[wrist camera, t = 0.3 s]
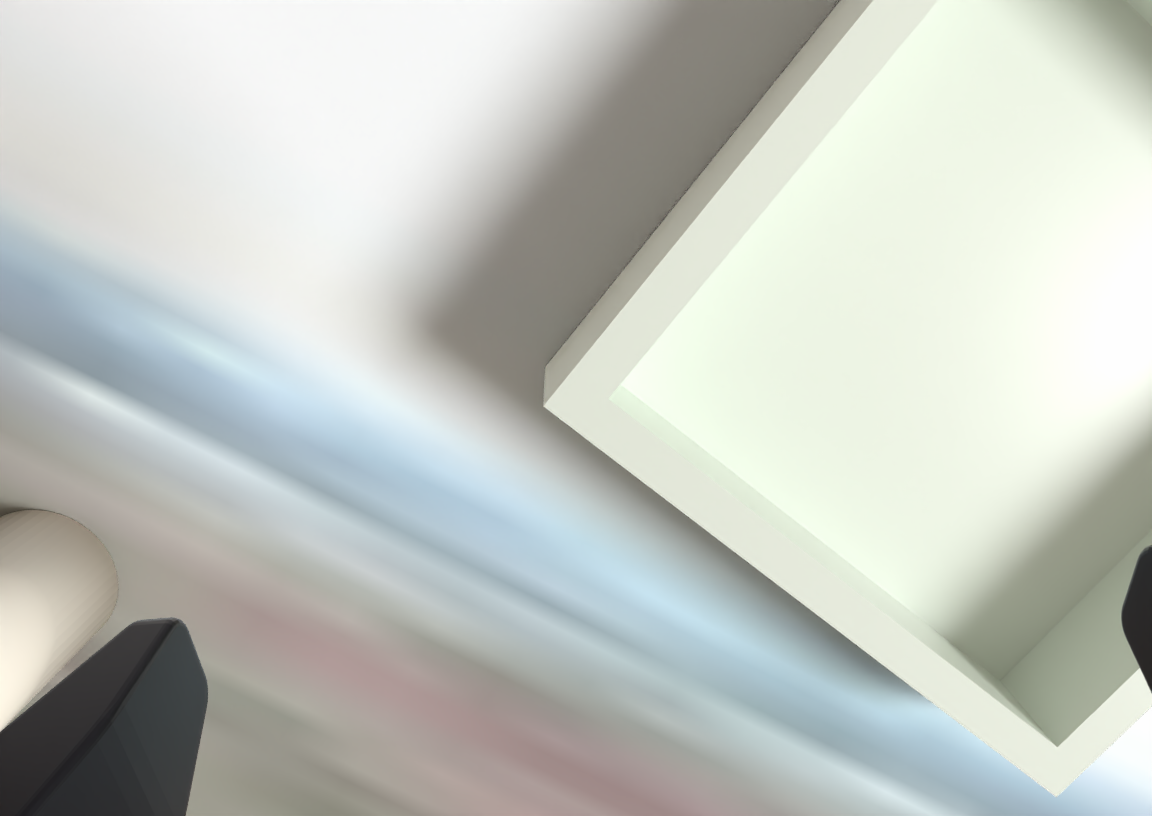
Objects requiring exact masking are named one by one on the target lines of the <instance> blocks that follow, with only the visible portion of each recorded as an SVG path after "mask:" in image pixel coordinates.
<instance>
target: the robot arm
mask: <svg viewBox="0 0 1152 816" xmlns="http://www.w3.org/2000/svg"><path fill="white" fill-rule="evenodd" d="M1121 621H1122V627H1123V631H1124V634H1125V637H1126V639H1127V641H1128V644H1129V646H1130V648H1131V650H1132V652H1133V654H1134V657H1135V659H1136V661H1137V663H1138V665H1139V667H1140V669H1141V672H1142V674H1143V676H1144V678H1145V680H1146V682H1147V685H1148V687H1149V689H1150V691H1151V693H1152V545H1149V546H1147V547H1145V548H1144V549H1143V550H1142V551H1141V553H1140V554H1139V556H1138V559H1137V562H1136V565H1135V568H1134V571H1133V575H1132V578H1131V581H1130V584H1129V587H1128V590H1127V593H1126V596H1125V599H1124V603H1123V606H1122V611H1121ZM207 702H208V686H207V680H206V676H205V674H204V671H203V668H202V666H201V663H200V660H199V658H198V655H197V652H196V650H195V647H194V644H193V642H192V639H191V636H190V634H189V631H188V629H187V627H186V625H185V624H184V623H183V621H181V620H180V619H177V618H160V619H147V620H140V621H136V622H134V623H132V624H130V625H129V626H128V627H126V628H125V629H124V630H123V631H121V632H120V633H119V634H118V635H117V636H115V637H114V638H113V639H112V640H110V641H109V642H108V643H107V644H106V645H104V646H103V647H102V648H101V649H100V650H98V651H97V652H96V653H95V654H94V655H92V656H91V657H90V658H89V659H88V660H86V661H85V662H84V663H83V664H82V665H80V666H79V667H78V668H77V669H76V670H74V671H73V672H72V673H71V674H69V675H68V676H67V677H66V678H65V679H63V680H62V681H61V682H60V683H59V684H57V685H56V686H55V687H54V688H53V689H51V690H50V691H49V692H48V693H47V694H45V695H44V696H43V697H42V698H41V699H39V700H38V701H37V702H36V703H34V704H33V705H32V706H31V707H30V708H28V709H27V710H26V711H25V712H24V713H22V714H21V715H20V716H19V717H18V718H16V719H15V720H14V721H13V722H12V723H10V724H9V725H8V726H7V727H6V728H4V729H3V730H2V731H1V732H0V816H186V811H187V806H188V801H189V796H190V791H191V785H192V780H193V775H194V770H195V765H196V760H197V755H198V749H199V744H200V739H201V734H202V729H203V724H204V719H205V713H206V708H207Z"/></svg>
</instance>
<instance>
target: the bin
mask: <svg viewBox="0 0 1152 816" xmlns="http://www.w3.org/2000/svg"><path fill="white" fill-rule="evenodd" d="M543 407H545V408H546V409H547V410H549V411H550V412H551V413H553V414H554V415H555V416H557V417H558V418H559V419H560V420H562V421H563V422H564V423H566V424H567V425H568V426H570V427H571V428H572V429H574V430H575V431H576V432H578V433H579V434H580V435H581V436H583V437H584V438H585V439H587V440H588V441H589V442H591V443H592V444H593V445H595V446H596V447H597V448H599V449H600V450H601V451H602V452H604V453H605V454H606V455H608V456H609V457H610V458H612V459H613V460H614V461H616V462H617V463H618V464H620V465H621V466H622V467H623V468H625V469H626V470H627V471H629V472H630V473H631V474H633V475H634V476H635V477H637V478H638V479H639V480H641V481H642V482H643V483H644V484H646V485H647V486H648V487H650V488H651V489H652V490H654V491H655V492H656V493H658V494H659V495H660V496H662V497H663V498H664V499H665V500H667V501H668V502H669V503H671V504H672V505H673V506H675V507H676V508H677V509H679V510H680V511H681V512H683V513H684V514H685V515H686V516H688V517H689V518H690V519H692V520H693V521H694V522H696V523H697V524H698V525H700V526H701V527H702V528H704V529H705V530H706V531H707V532H709V533H710V534H711V535H713V536H714V537H715V538H717V539H718V540H719V541H721V542H722V543H723V544H725V545H726V546H727V547H728V548H730V549H731V550H732V551H734V552H735V553H736V554H738V555H739V556H740V557H742V558H743V559H744V560H746V561H747V562H748V563H749V564H751V565H752V566H753V567H755V568H756V569H757V570H759V571H760V572H761V573H763V574H764V575H765V576H767V577H768V578H769V579H770V580H772V581H773V582H774V583H776V584H777V585H778V586H780V587H781V588H782V589H784V590H785V591H786V592H788V593H789V594H790V595H791V596H793V597H794V598H795V599H797V600H798V601H799V602H801V603H802V604H803V605H805V606H806V607H807V608H809V609H810V610H811V611H812V612H814V613H815V614H816V615H818V616H819V617H820V618H822V619H823V620H824V621H826V622H827V623H828V624H830V625H831V626H832V627H833V628H835V629H836V630H837V631H839V632H840V633H841V634H843V635H844V636H845V637H847V638H848V639H849V640H851V641H852V642H853V643H854V644H856V645H857V646H858V647H860V648H861V649H862V650H864V651H865V652H866V653H868V654H869V655H870V656H872V657H873V658H874V659H875V660H877V661H878V662H879V663H881V664H882V665H883V666H885V667H886V668H887V669H889V670H890V671H891V672H893V673H894V674H895V675H896V676H898V677H899V678H900V679H902V680H903V681H904V682H906V683H907V684H908V685H910V686H911V687H912V688H914V689H915V690H916V691H917V692H919V693H920V694H921V695H923V696H924V697H925V698H927V699H928V700H929V701H931V702H932V703H933V704H935V705H936V706H937V707H938V708H940V709H941V710H942V711H944V712H945V713H946V714H948V715H949V716H950V717H952V718H953V719H954V720H956V721H957V722H958V723H959V724H961V725H962V726H963V727H965V728H966V729H967V730H969V731H970V732H971V733H973V734H974V735H975V736H977V737H978V738H979V739H980V740H982V741H983V742H984V743H986V744H987V745H988V746H990V747H991V748H992V749H994V750H995V751H996V752H998V753H999V754H1000V755H1001V756H1003V757H1004V758H1005V759H1007V760H1008V761H1009V762H1011V763H1012V764H1013V765H1015V766H1016V767H1017V768H1019V769H1020V770H1021V771H1022V772H1024V773H1025V774H1026V775H1028V776H1029V777H1030V778H1032V779H1033V780H1034V781H1036V782H1037V783H1038V784H1040V785H1041V786H1042V787H1043V788H1045V789H1046V790H1047V791H1049V792H1050V793H1051V794H1053V795H1054V796H1055V797H1057V796H1058V795H1059V794H1060V793H1061V792H1063V791H1064V790H1065V789H1066V788H1067V787H1068V786H1069V785H1070V784H1071V783H1072V782H1073V781H1074V780H1075V779H1076V778H1077V777H1078V776H1079V775H1080V774H1081V773H1082V772H1084V771H1085V770H1086V769H1087V768H1088V767H1089V766H1090V765H1091V764H1092V763H1093V762H1094V761H1095V760H1096V759H1097V758H1098V757H1099V756H1100V755H1101V754H1102V753H1104V752H1105V751H1106V750H1107V749H1108V748H1109V747H1110V746H1111V745H1112V744H1113V743H1114V742H1115V741H1116V740H1117V739H1118V738H1119V737H1120V736H1121V735H1122V734H1124V733H1125V732H1126V731H1127V730H1128V729H1129V728H1130V727H1131V726H1132V725H1133V724H1134V723H1135V722H1136V721H1137V720H1138V719H1139V718H1140V717H1141V716H1142V715H1144V714H1145V713H1146V712H1147V711H1148V710H1149V709H1150V708H1151V707H1152V693H1151V691H1150V689H1149V687H1148V685H1147V682H1146V680H1145V678H1144V676H1143V674H1142V672H1141V669H1140V667H1139V665H1138V663H1137V661H1136V659H1135V657H1134V654H1133V652H1132V650H1131V648H1130V646H1129V644H1128V641H1127V639H1126V637H1125V634H1124V631H1123V627H1122V621H1121V611H1122V606H1123V603H1124V599H1125V596H1126V593H1127V590H1128V587H1129V584H1130V581H1131V578H1132V575H1133V571H1134V568H1135V565H1136V562H1137V559H1138V556H1139V554H1140V553H1141V551H1142V550H1143V549H1144V548H1145V547H1147V546H1149V545H1152V0H840V2H839V3H838V4H837V5H836V6H835V8H834V9H833V10H832V11H831V13H830V14H829V15H828V16H827V18H826V19H825V20H824V21H823V23H822V24H821V25H820V26H819V28H818V29H817V30H816V31H815V33H814V34H813V35H812V36H811V38H810V39H809V40H808V41H807V43H806V44H805V45H804V46H803V47H802V49H801V50H800V51H799V52H798V54H797V55H796V56H795V57H794V59H793V60H792V61H791V62H790V64H789V65H788V66H787V67H786V69H785V70H784V71H783V72H782V74H781V75H780V76H779V77H778V79H777V80H776V81H775V82H774V84H773V85H772V86H771V87H770V88H769V90H768V91H767V92H766V93H765V95H764V96H763V97H762V98H761V100H760V101H759V102H758V103H757V105H756V106H755V107H754V108H753V110H752V111H751V112H750V113H749V115H748V116H747V117H746V118H745V120H744V121H743V122H742V123H741V124H740V126H739V127H738V128H737V129H736V131H735V132H734V133H733V134H732V136H731V137H730V138H729V139H728V141H727V142H726V143H725V144H724V146H723V147H722V148H721V149H720V151H719V152H718V153H717V154H716V156H715V157H714V158H713V159H712V161H711V162H710V163H709V164H708V165H707V167H706V168H705V169H704V170H703V172H702V173H701V174H700V175H699V177H698V178H697V179H696V180H695V182H694V183H693V184H692V185H691V187H690V188H689V189H688V190H687V192H686V193H685V194H684V195H683V197H682V198H681V199H680V200H679V202H678V203H677V204H676V205H675V206H674V208H673V209H672V210H671V211H670V213H669V214H668V215H667V216H666V218H665V219H664V220H663V221H662V223H661V224H660V225H659V226H658V228H657V229H656V230H655V231H654V233H653V234H652V235H651V236H650V238H649V239H648V240H647V241H646V243H645V244H644V245H643V246H642V247H641V249H640V250H639V251H638V252H637V254H636V255H635V256H634V257H633V259H632V260H631V261H630V262H629V264H628V265H627V266H626V267H625V269H624V270H623V271H622V272H621V274H620V275H619V276H618V277H617V279H616V280H615V281H614V282H613V284H612V285H611V286H610V287H609V288H608V290H607V291H606V292H605V293H604V295H603V296H602V297H601V298H600V300H599V301H598V302H597V303H596V305H595V306H594V307H593V308H592V310H591V311H590V312H589V313H588V315H587V316H586V317H585V318H584V320H583V321H582V322H581V323H580V324H579V326H578V327H577V328H576V329H575V331H574V332H573V333H572V334H571V336H570V337H569V338H568V339H567V341H566V342H565V343H564V344H563V346H562V347H561V348H560V349H559V351H558V352H557V353H556V354H555V356H554V357H553V358H552V359H551V361H550V362H549V363H548V364H547V365H546V367H545V378H544V400H543Z"/></svg>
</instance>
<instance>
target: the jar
mask: <svg viewBox="0 0 1152 816" xmlns="http://www.w3.org/2000/svg"><path fill="white" fill-rule="evenodd" d="M117 598H118V577H117V571H116V568H115V565H114V562H113V560H112V558H111V556H110V554H109V552H108V551H107V549H106V548H105V546H104V545H103V544H102V543H101V541H100V540H99V539H98V538H97V537H96V536H95V535H94V534H93V533H92V532H91V531H90V530H88V529H87V528H86V527H84V526H83V525H81V524H80V523H78V522H76V521H75V520H73V519H70V518H68V517H66V516H64V515H60V514H57V513H54V512H49V511H43V510H23V511H17V512H13V513H9V514H6V515H4V516H2V517H0V731H1V730H2V729H3V728H4V727H5V726H6V725H7V724H8V723H9V722H10V721H11V720H12V719H13V718H14V717H15V716H16V715H17V714H18V713H19V712H20V711H21V710H22V709H23V708H24V707H25V706H26V705H27V703H28V702H29V701H30V700H31V699H32V698H33V697H34V696H35V695H36V694H37V693H38V692H39V691H40V690H41V689H42V688H43V687H44V686H45V685H46V684H47V683H48V682H49V681H50V680H51V679H52V678H53V677H54V676H55V675H56V674H57V673H58V672H59V671H60V670H61V669H62V668H63V667H64V666H65V665H66V664H67V663H68V662H69V661H70V660H71V659H72V658H73V656H74V655H75V654H76V653H77V652H78V651H79V650H80V649H81V648H82V647H83V646H84V645H85V644H86V643H87V642H88V641H89V640H90V639H91V638H92V637H93V636H94V635H95V634H96V633H97V632H98V631H99V630H100V629H101V628H102V627H103V626H104V624H105V623H106V622H107V621H108V619H109V618H110V616H111V615H112V613H113V610H114V608H115V606H116V602H117Z"/></svg>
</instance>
